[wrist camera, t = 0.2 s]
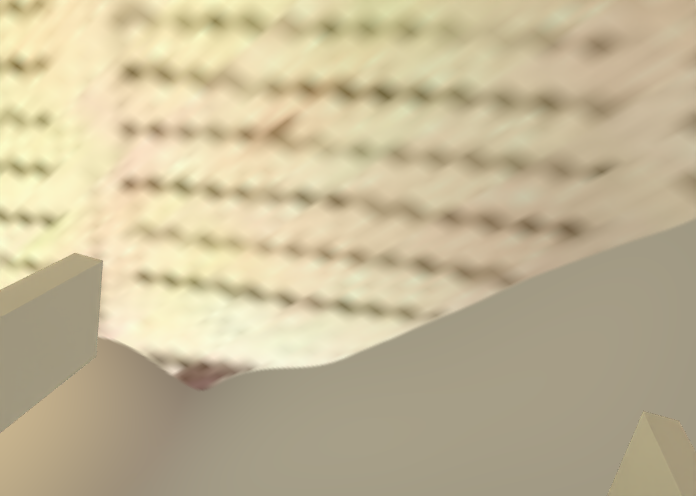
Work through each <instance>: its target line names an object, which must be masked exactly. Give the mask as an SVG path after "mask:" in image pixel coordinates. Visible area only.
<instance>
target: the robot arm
mask: <svg viewBox="0 0 696 496" xmlns="http://www.w3.org/2000/svg"><path fill="white" fill-rule="evenodd" d="M102 266H103V261H102V260H99V259H95V258H91V257H88V256H84V255H81V254H77V253H74V254H72V255H70V256H68V257H66V258H64V259H62V260H60V261H58V262H56V263H54V264H52V265H50V266H48V267H46V268H44V269H41V270H39V271H37V272H35V273H33V274H31V275H29V276H27V277H25V278H23V279H21V280H19V281H17V282H15V283H13V284H11V285H9V286H7V287H5V288H3V289H1V290H0V433H1V432H2V431H3V430H5V429H6V428H7V427H8V426H10V425H11V424H12V423H13V422H14V421H16V420H17V419H18V418H20V417H21V416H22V415H23V414H25V413H26V412H27V411H28V410H30V409H31V408H32V407H33V406H35V405H36V404H37V403H39V402H40V401H41V400H42V399H43V398H45V397H46V396H47V395H48V394H50V393H51V392H52V391H54V390H55V389H56V388H57V387H58V386H60V385H61V384H62V383H64V382H65V381H66V380H68V379H69V378H70V377H71V376H73V375H74V374H75V373H76V372H78V371H79V370H80V369H81V368H83V367H84V366H85V365H86V364H88V363H89V362H90V361H91V360H92V359H94V358H95V357H96V352H97V338H98V324H99V309H100V295H101V281H102ZM607 496H696V451H695V450H694V448H693V446H692V444H691V443H690V440H689V439H688V437H687V435H686V433H685V431H684V429H683V428H682V426H681V424H680V422H679V421H677V420H673V419H670V418H666V417H663V416H659V415H656V414H652V413H648V412H645V411H643V413H642V415H641V418H640V420H639V422H638V425H637V427H636V429H635V432H634V434H633V436H632V439H631V441H630V443H629V446H628V448H627V450H626V452H625V455H624V457H623V460H622V462H621V464H620V466H619V469H618V471H617V474H616V476H615V478H614V481H613V483H612V485H611V487H610V490H609V492H608V494H607Z"/></svg>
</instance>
